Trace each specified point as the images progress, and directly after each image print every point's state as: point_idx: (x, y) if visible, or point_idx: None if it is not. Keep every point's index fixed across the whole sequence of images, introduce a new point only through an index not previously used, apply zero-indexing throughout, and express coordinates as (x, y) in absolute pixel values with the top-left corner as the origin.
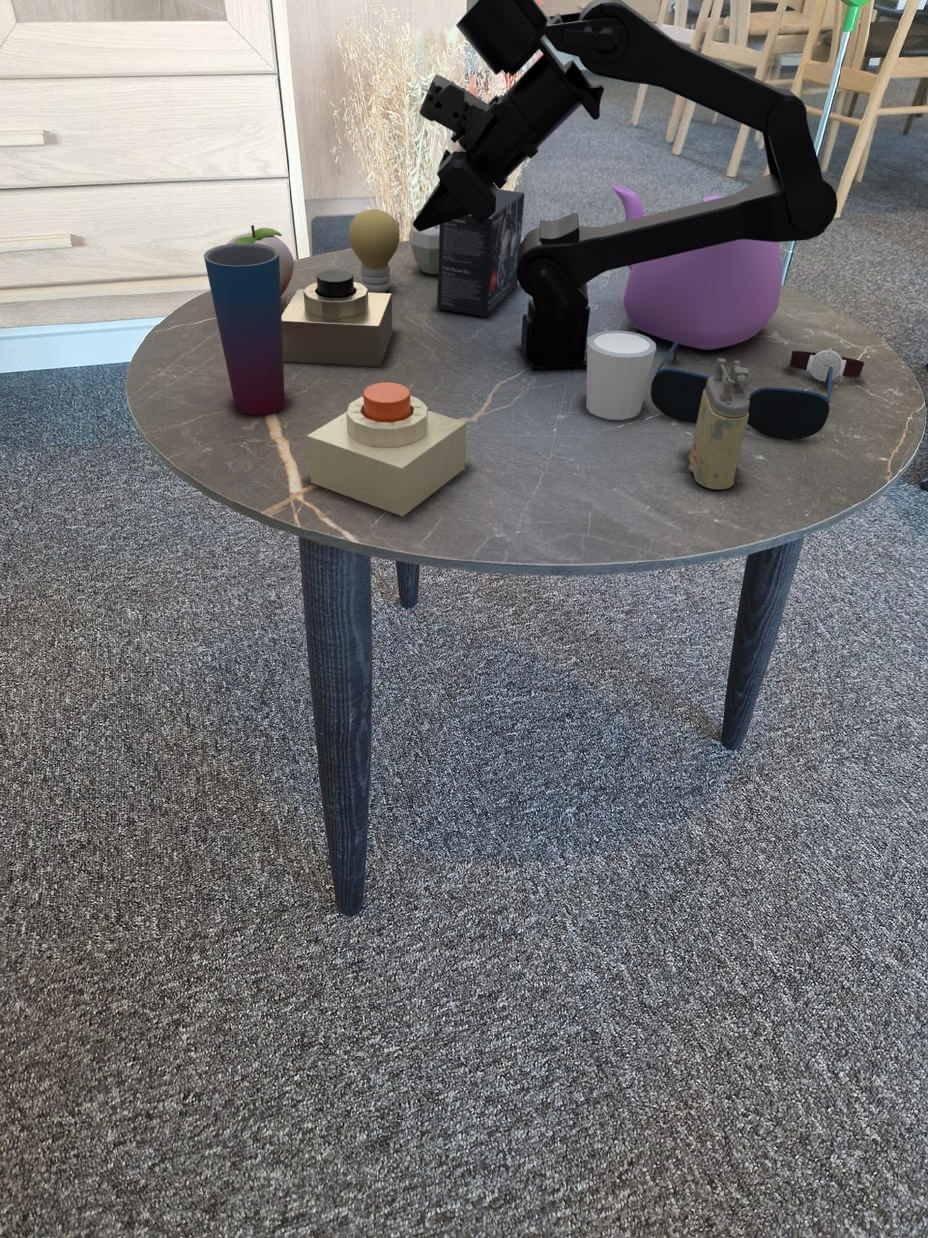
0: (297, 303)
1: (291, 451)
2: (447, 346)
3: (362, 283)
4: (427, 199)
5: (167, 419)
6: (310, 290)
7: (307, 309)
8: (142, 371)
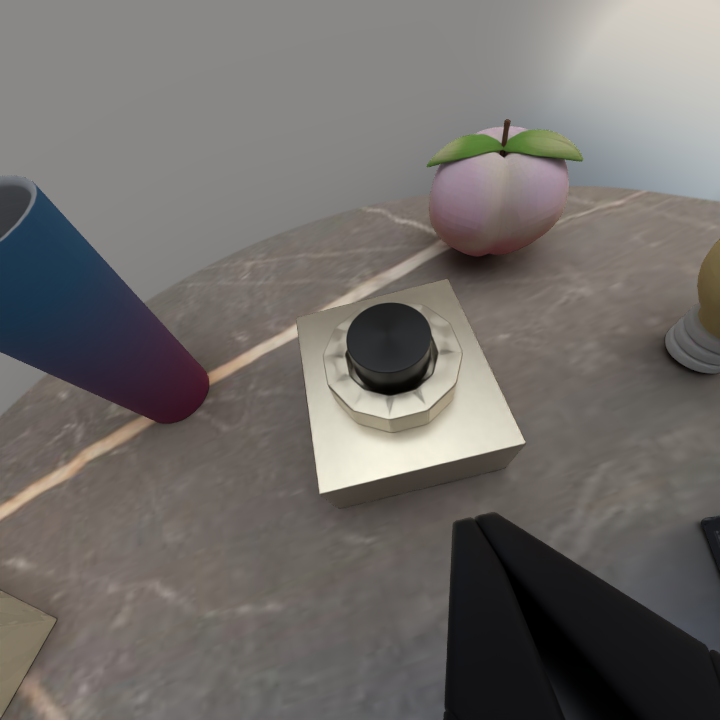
0: None
1: (42, 493)
2: None
3: (674, 325)
4: (624, 603)
5: None
6: None
7: None
8: (252, 246)
